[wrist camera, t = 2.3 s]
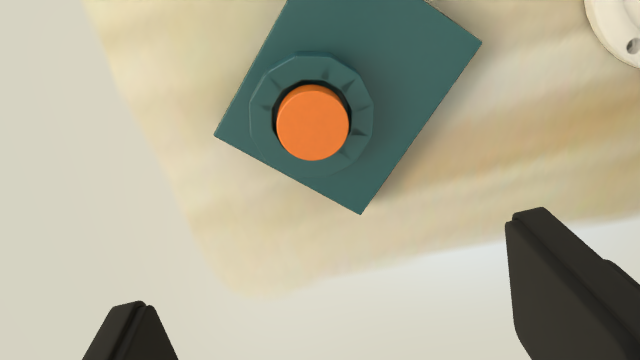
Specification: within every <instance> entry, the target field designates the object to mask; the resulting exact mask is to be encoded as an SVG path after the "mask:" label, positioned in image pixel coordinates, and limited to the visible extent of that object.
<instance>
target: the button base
mask: <svg viewBox="0 0 640 360" xmlns="http://www.w3.org/2000/svg"><path fill="white" fill-rule="evenodd" d="M481 44H482V41H480V40H479V39H478V38H476V37H475V36H473V35H472V34H470V33H469V32H468V31H466V30H465V29H463V28H462V27H460V26H459V25H458V24H456V23H455V22H453V21H452V20H451V19H449V18H448V17H446V16H445V15H443V14H442V13H441V12H439V11H438V10H436V9H435V8H433V7H432V6H431V5H429V4H428V3H426V2H425V1H423V0H287V2H286V4H285V6H284V7H283V9H282V11H281V13H280V15H279V17H278V18H277V20H276V22H275V24H274V26H273V27H272V29H271V31H270V33H269V35H268V36H267V38H266V40H265V42H264V44H263V46H262V47H261V49H260V51H259V53H258V55H257V56H256V58H255V60H254V62H253V64H252V65H251V67H250V69H249V71H248V73H247V75H246V76H245V78H244V80H243V82H242V84H241V85H240V87H239V89H238V91H237V93H236V94H235V96H234V98H233V100H232V102H231V104H230V105H229V107H228V109H227V111H226V113H225V114H224V116H223V118H222V120H221V122H220V123H219V125H218V127H217V129H216V131H215V133H214V136H215V137H217V138H219V139H221V140H222V141H224V142H226V143H228V144H230V145H232V146H234V147H235V148H237V149H239V150H241V151H243V152H245V153H246V154H248V155H250V156H252V157H254V158H256V159H258V160H259V161H261V162H263V163H265V164H267V165H269V166H270V167H272V168H274V169H276V170H278V171H280V172H282V173H283V174H285V175H287V176H289V177H291V178H293V179H294V180H296V181H298V182H300V183H302V184H304V185H305V186H307V187H309V188H311V189H313V190H315V191H317V192H318V193H320V194H322V195H324V196H326V197H328V198H329V199H331V200H333V201H335V202H337V203H339V204H341V205H342V206H344V207H346V208H348V209H350V210H352V211H353V212H355V213H357V214H359V215H361V214H362V212H363V211H364V210H365V208H366V207H367V205H368V204H369V203H370V201H371V200H372V198H373V197H374V196H375V194H376V193H377V191H378V190H379V188H380V187H381V186H382V184H383V183H384V181H385V180H386V179H387V177H388V176H389V174H390V173H391V171H392V170H393V169H394V167H395V166H396V164H397V163H398V162H399V160H400V159H401V157H402V156H403V155H404V153H405V152H406V150H407V149H408V147H409V146H410V145H411V143H412V142H413V140H414V139H415V138H416V136H417V135H418V133H419V132H420V131H421V129H422V128H423V126H424V125H425V123H426V122H427V121H428V119H429V118H430V116H431V115H432V114H433V112H434V111H435V109H436V108H437V106H438V105H439V104H440V102H441V101H442V99H443V98H444V97H445V95H446V94H447V92H448V91H449V90H450V88H451V87H452V85H453V84H454V82H455V81H456V80H457V78H458V77H459V75H460V74H461V73H462V71H463V70H464V68H465V67H466V66H467V64H468V63H469V61H470V60H471V58H472V57H473V56H474V54H475V53H476V51H477V50H478V49H479V47H480V46H481ZM308 84H315V85H321V86H324V87H326V88H328V89H330V90H332V91H333V92H334V93H335V94H336V95H337V96H338V97H339V98H340V100H341V101H342V103H343V106H344V108H345V110H346V113H347V116H348V120H349V131H348V135H347V138H346V140H345V142H344V144H343V145H342V147H341V148H340V149H339V150H338V151H337V152H336V153H334V154H333V155H331V156H330V157H327V158H325V159H322V160H316V161H309V160H303V159H300V158H297V157H295V156H294V155H292V154H291V153H289V152H288V151H287V150H286V149H285V148H284V147H283V145H282V144H281V142H280V140H279V137H278V134H277V116H278V110H279V107H280V104H281V102H282V100H283V99H284V97H285V96H286V95H287V94H288V93H289V92H291V91H292V90H294V89H295V88H297V87H300V86H303V85H308Z"/></svg>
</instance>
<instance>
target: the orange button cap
mask: <svg viewBox="0 0 640 360" xmlns="http://www.w3.org/2000/svg"><path fill="white" fill-rule="evenodd" d="M348 131H349V120H348V116H347V113H346V110H345V108H344V106H343V103H342V101H341V100H340V98H339V97H338V96H337V95H336V94H335V93H334V92H333V91H332V90H330V89H328V88H326V87H324V86H321V85H315V84H308V85H303V86H300V87H297V88H295V89H294V90H292V91H291V92H289V93H288V94H287V95H286V96H285V97H284V99H283V100H282V102H281V104H280V107H279V110H278V116H277V134H278V137H279V140H280V142H281V144H282V145H283V147H284V148H285V149H286V150H287V151H288V152H289V153H291V154H292V155H294V156H295V157H297V158H300V159H303V160H309V161H316V160H322V159H325V158H327V157H330V156H331V155H333V154H334V153H336V152H337V151H338V150H339V149H340V148H341V147H342V145H343V144H344V142H345V140H346V138H347V135H348Z"/></svg>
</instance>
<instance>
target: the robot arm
mask: <svg viewBox="0 0 640 360" xmlns="http://www.w3.org/2000/svg"><path fill="white" fill-rule="evenodd" d="M584 5H585V10H586V15H587V17H588V20H589V22H590V24H591V27H592V29H593V32H594V33H595V35H596V36H597V38H598V39H599V40H600V42H601V43H602V45H603V46H604V47H605V48H606V49H607V50H608V51H609V52H610V53H612V54H613V55H614V56H615V57H616V58H617V59H619V60H621V61H623V62H625V63H627V64H629V65H631V66H633V67H636V68H640V0H584ZM505 235H506V245H507V256H508V266H509V277H510V287H511V298H512V308H513V319H514V325H515V330H516V333H517V335H518V338H519V340H520V342H521V343H522V345H523V347H524V348H525V350H526V351H527V353H528V355H529V356H530V358H531V359H532V360H640V285H639V284H638V283H637V282H636V281H635V280H634V279H633V278H631V277H630V276H629V275H628V274H627V273H626V272H624V271H623V270H622V269H621V268H620V267H619V266H617V265H616V264H615V263H613V262H612V261H610V260H605V259H602V258H601V257H600V256H599V255H598V254H597V253H596V252H594V251H593V250H592V249H591V248H590V247H588V245H586V244H585V243H584V242H583V241H582V240H581V239H579V238H578V237H577V236H576V235H575V234H574V233H573V232H572V231H571V230H569V229H568V228H567V227H566V226H565V225H564V224H563V223H561V222H560V221H559V220H558V219H557V218H556V217H555V216H553V215H552V214H551V213H550V212H549V211H548V210H547V209H545V208H544V207H538V208H534V209H530V210H525V211H521V212H517V213H514V214H513V217H512V221H509V222H506V223H505ZM82 360H178V358H177V355H176V353H175V352H174V349H173V347H172V345H171V343H170V340H169V338H168V336H167V334H166V332H165V329H164V327H163V325H162V323H161V321H160V319H159V316H158V315H157V312H156V310H155V308H154V307H153V306H151V305H148V306H146V304H145V303H144V302H143V301H135V302H131V303H127V304H122V305H118V306H115V307H113V308H112V309H111V310H110V312H109V313H108V315H107V317H106V319H105V320H104V322H103V324H102V325H101V327H100V329H99V331H98V333H97V334H96V336H95V338H94V340H93V341H92V343H91V345H90V347H89V349H88V350H87V352H86V354H85V355H84V357H83V359H82Z"/></svg>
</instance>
